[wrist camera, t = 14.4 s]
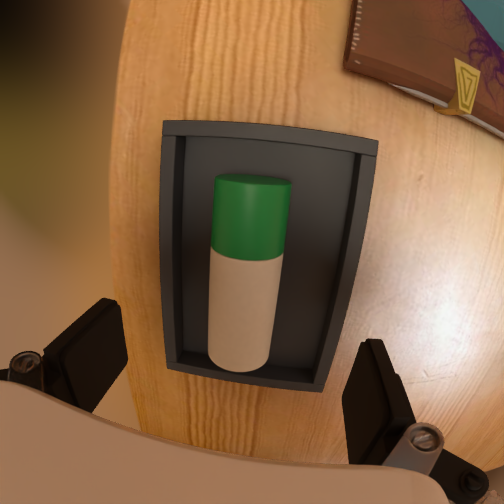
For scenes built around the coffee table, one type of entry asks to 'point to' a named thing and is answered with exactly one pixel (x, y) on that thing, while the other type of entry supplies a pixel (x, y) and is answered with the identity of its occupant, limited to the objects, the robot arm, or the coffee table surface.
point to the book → (434, 53)
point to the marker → (245, 267)
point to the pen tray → (295, 249)
